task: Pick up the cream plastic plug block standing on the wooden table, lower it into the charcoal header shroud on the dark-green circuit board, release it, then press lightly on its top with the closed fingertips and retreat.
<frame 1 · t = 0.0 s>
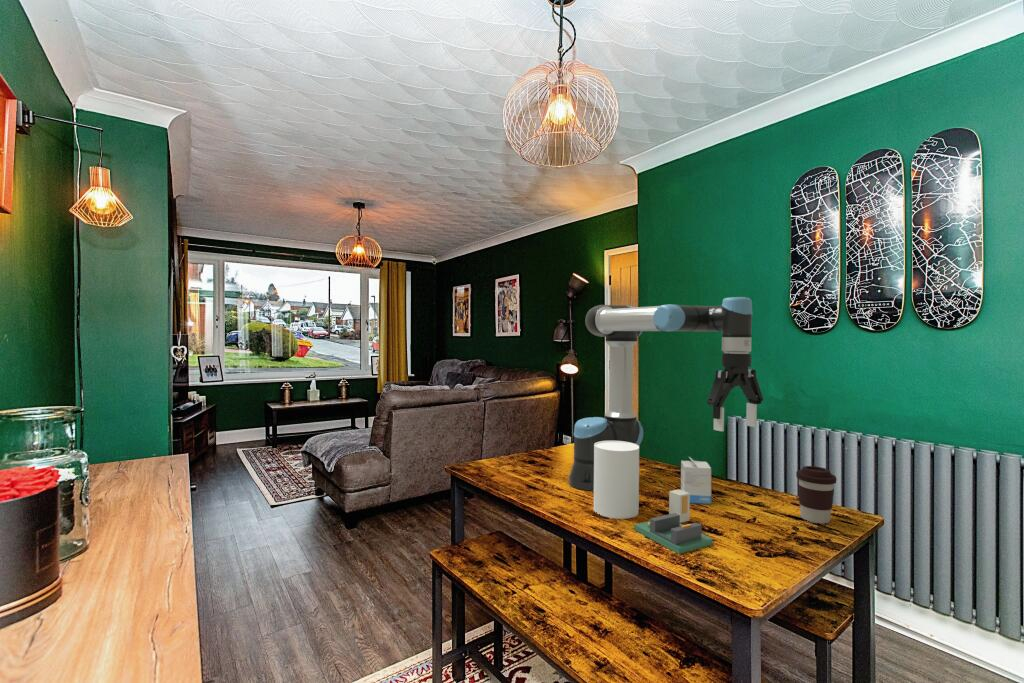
hand: (735, 428, 133), 28 cm above the table, fingers open, 13 cm apart
board: (672, 536, 127), on the table
coffee cup: (815, 520, 140), on the table
canister: (615, 510, 146), on the table
ink box: (695, 499, 157), on the table
plug: (679, 519, 139), on the table
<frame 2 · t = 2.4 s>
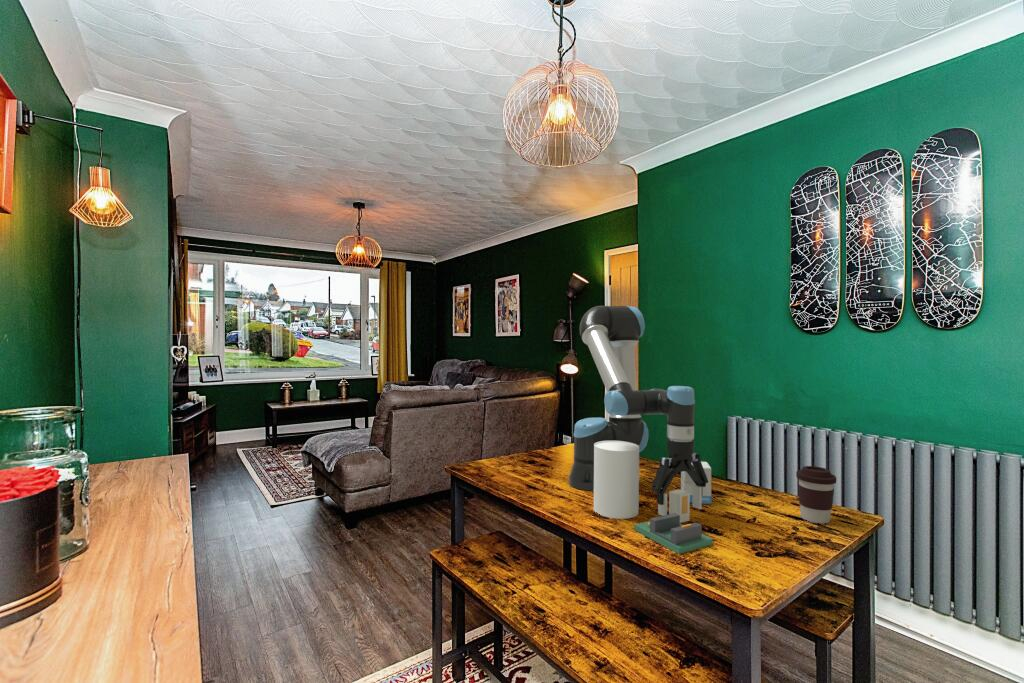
hand: (680, 511, 139), 2 cm above the table, fingers open, 13 cm apart
nothing on the table moved.
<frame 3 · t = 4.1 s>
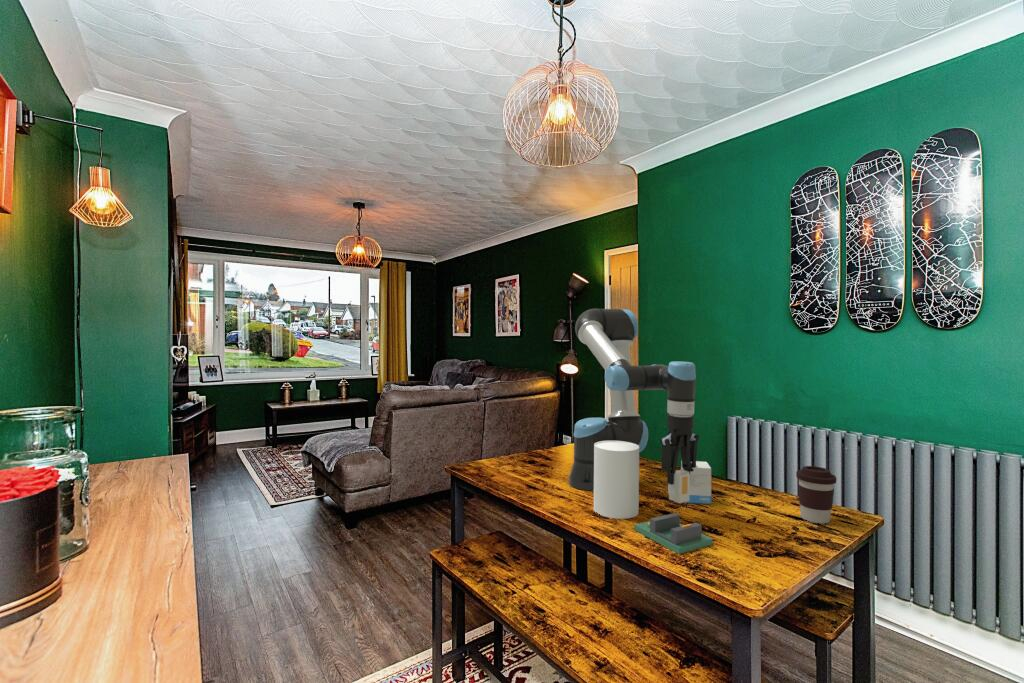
hand: (678, 493, 140), 7 cm above the table, fingers closed on plug, 4 cm apart
plug: (679, 499, 140), point 6 cm above the table, touching gripper
everything else where it was.
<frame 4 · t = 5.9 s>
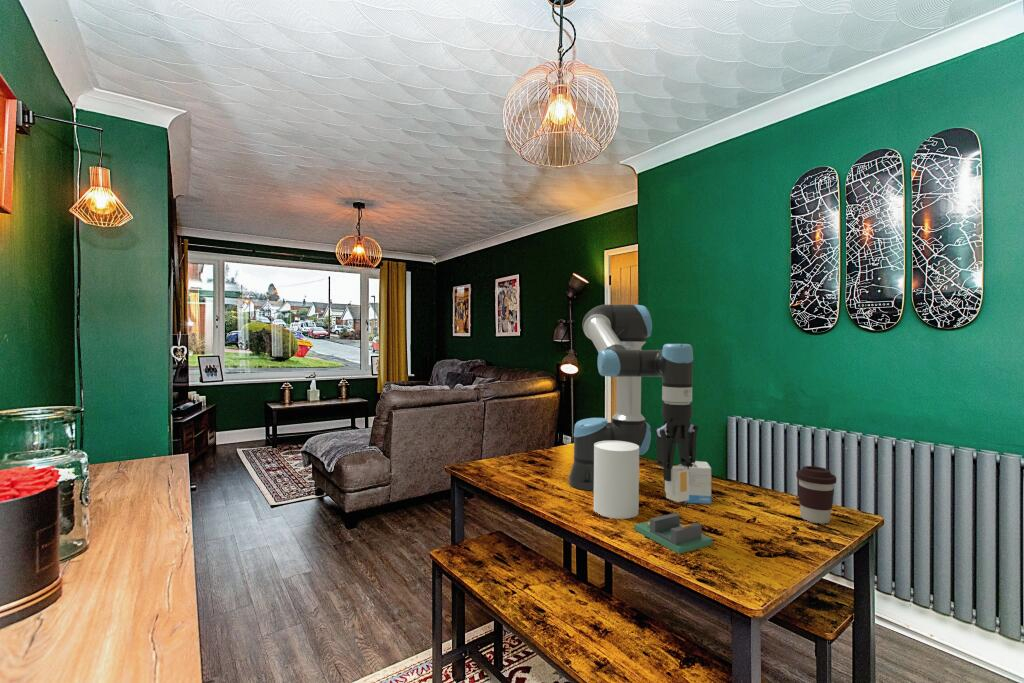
hand: (676, 491, 125), 13 cm above the table, fingers closed on plug, 4 cm apart
plug: (677, 498, 124), point 11 cm above the table, touching gripper
everything else where it was.
when the fingers open (3 cm above the table, at t = 7.6 s): plug stays where it is, resting on board.
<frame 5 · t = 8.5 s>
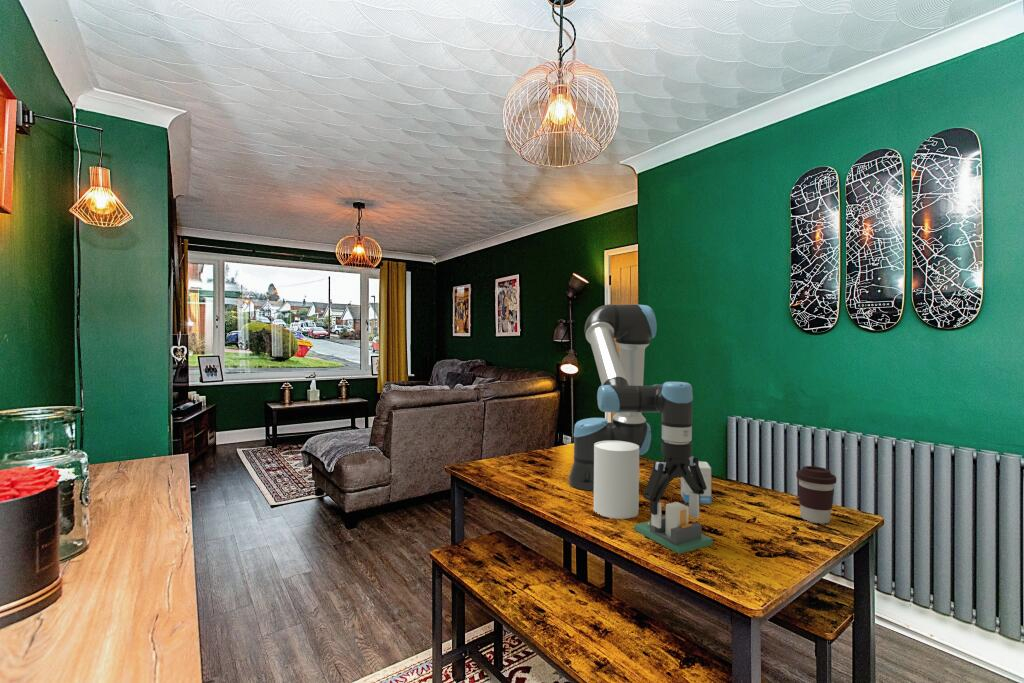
hand: (675, 521, 125), 5 cm above the table, fingers open, 13 cm apart
plug: (676, 535, 125), point 1 cm above the table, touching board
everything else where it was.
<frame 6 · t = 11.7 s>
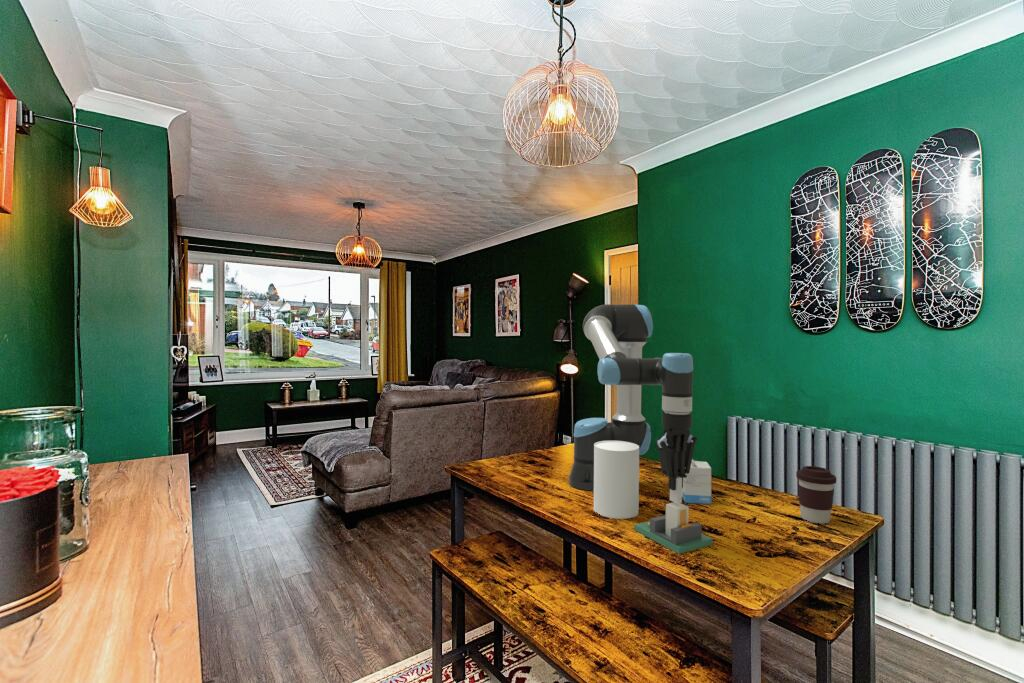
hand: (675, 501, 125), 10 cm above the table, fingers closed
nothing on the table moved.
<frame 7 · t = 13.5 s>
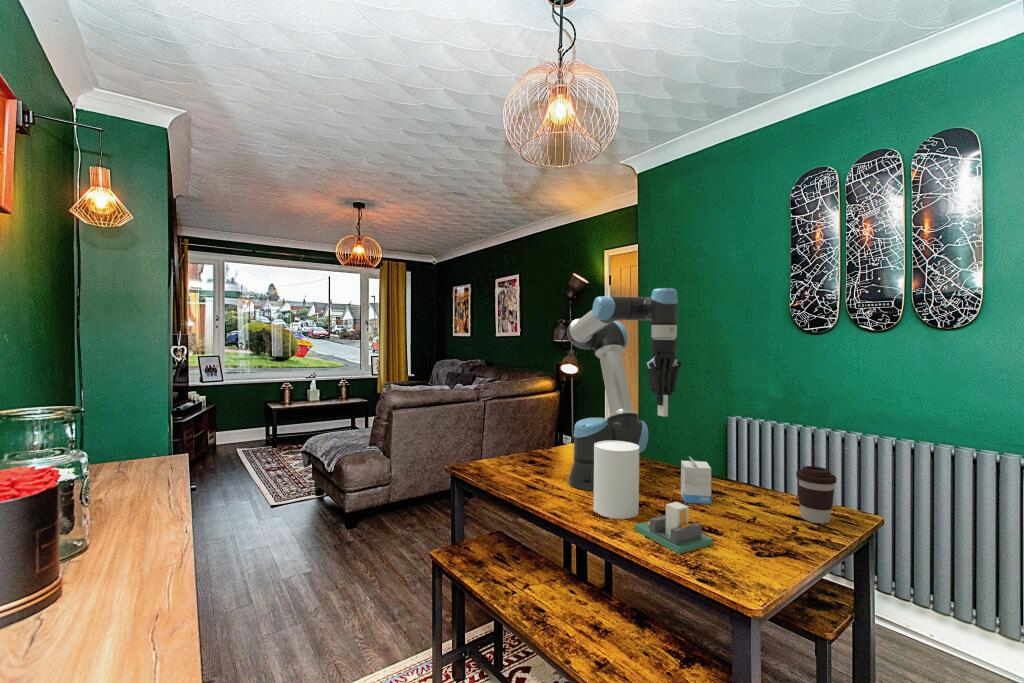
hand: (662, 415, 146), 29 cm above the table, fingers closed
nothing on the table moved.
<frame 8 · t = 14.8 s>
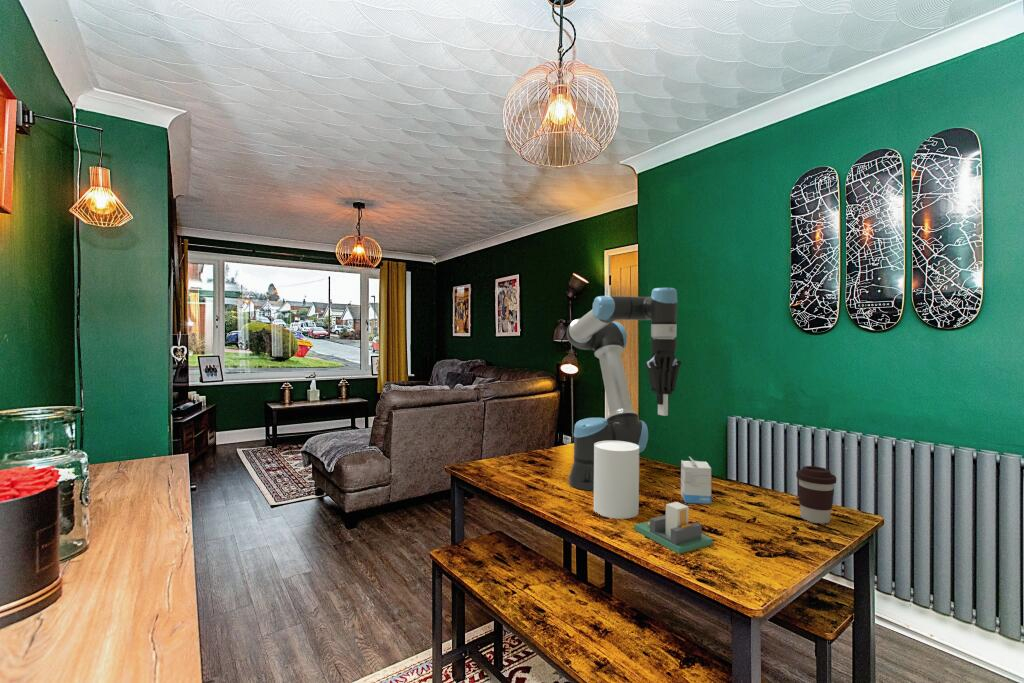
hand: (662, 414, 146), 29 cm above the table, fingers closed
nothing on the table moved.
at the end: plug 0.5 cm from the target spot on the board, point 1.5 cm above the board's base; plug tilted 0°; the gripper is holding nothing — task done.
